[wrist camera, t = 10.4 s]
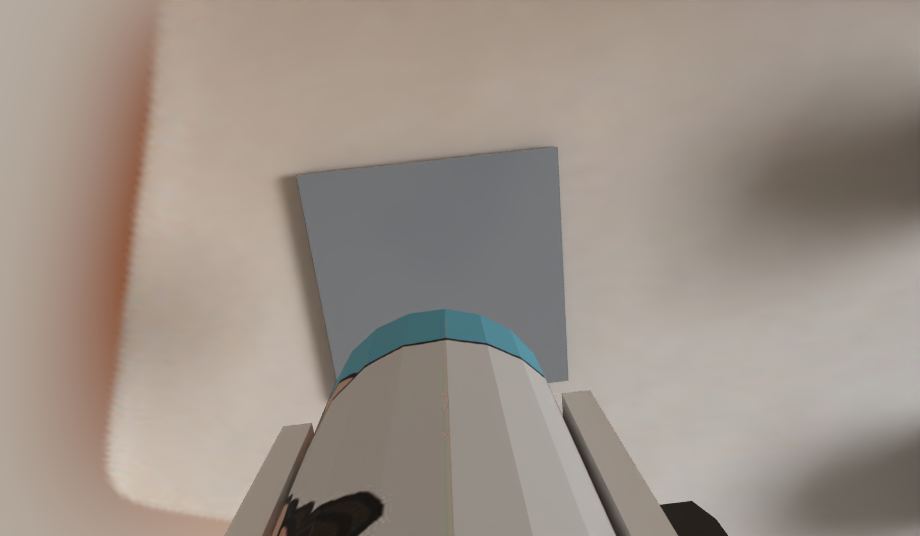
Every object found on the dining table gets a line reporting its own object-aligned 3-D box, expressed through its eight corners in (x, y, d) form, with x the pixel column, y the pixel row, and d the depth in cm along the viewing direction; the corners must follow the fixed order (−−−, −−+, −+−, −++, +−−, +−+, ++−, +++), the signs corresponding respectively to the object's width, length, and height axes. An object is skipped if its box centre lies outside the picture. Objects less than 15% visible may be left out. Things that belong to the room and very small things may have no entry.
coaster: (301, 173, 26) (296, 175, 25) (553, 146, 26) (557, 146, 25) (344, 397, 29) (341, 406, 28) (564, 372, 30) (568, 380, 29)
